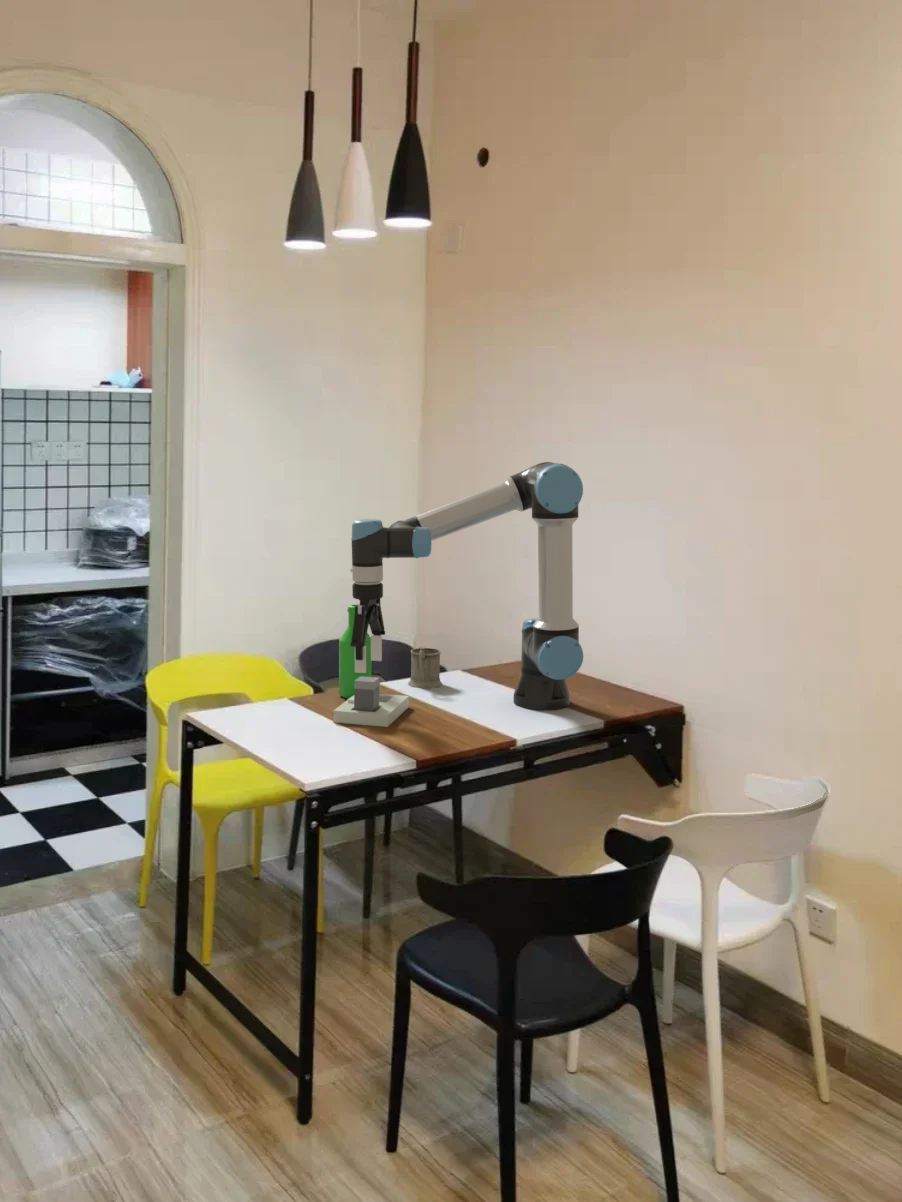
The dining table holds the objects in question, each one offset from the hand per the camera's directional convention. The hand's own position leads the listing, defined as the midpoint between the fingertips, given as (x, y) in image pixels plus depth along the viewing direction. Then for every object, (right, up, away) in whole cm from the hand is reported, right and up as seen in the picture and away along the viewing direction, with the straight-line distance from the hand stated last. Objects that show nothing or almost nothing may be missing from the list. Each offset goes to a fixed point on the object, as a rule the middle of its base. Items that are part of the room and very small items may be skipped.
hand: (368, 666), depth 282 cm
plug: (-1, -13, +2) cm, 13 cm away
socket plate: (0, -13, +7) cm, 14 cm away
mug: (+13, -8, +39) cm, 41 cm away
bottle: (-6, -10, +26) cm, 28 cm away
